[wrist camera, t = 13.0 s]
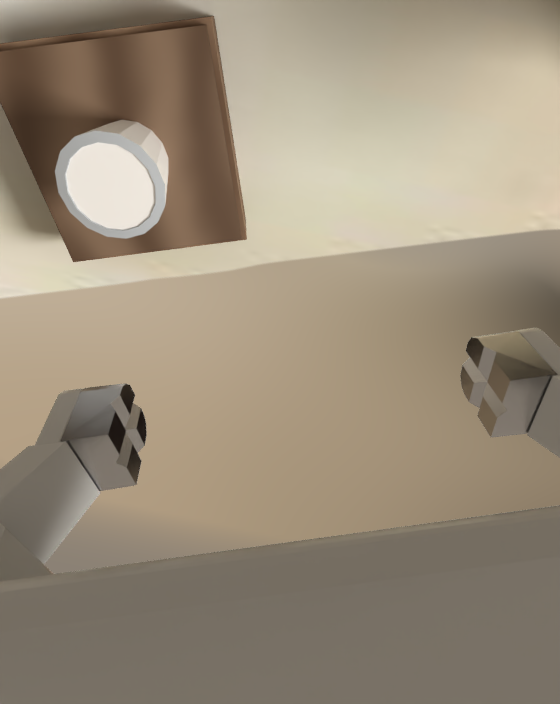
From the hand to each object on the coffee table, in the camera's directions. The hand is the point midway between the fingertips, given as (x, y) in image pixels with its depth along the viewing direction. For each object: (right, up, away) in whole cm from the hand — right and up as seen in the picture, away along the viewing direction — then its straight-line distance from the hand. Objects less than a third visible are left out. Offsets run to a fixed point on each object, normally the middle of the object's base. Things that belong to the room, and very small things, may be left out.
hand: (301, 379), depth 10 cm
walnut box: (-13, +19, +27) cm, 36 cm away
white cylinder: (-12, +16, +23) cm, 30 cm away
